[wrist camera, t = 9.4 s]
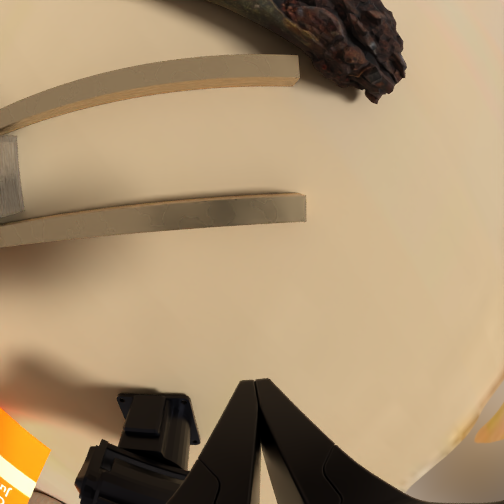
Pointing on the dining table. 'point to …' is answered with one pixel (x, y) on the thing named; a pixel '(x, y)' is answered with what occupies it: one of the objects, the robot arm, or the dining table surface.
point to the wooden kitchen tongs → (167, 212)
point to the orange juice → (18, 461)
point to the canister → (42, 499)
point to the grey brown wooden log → (336, 38)
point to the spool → (10, 177)
